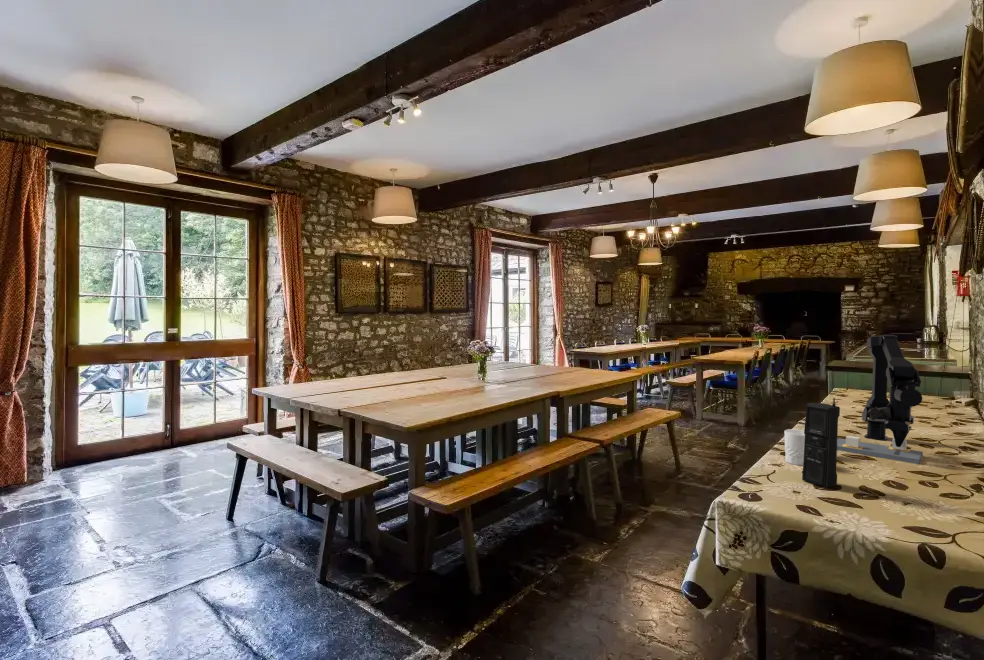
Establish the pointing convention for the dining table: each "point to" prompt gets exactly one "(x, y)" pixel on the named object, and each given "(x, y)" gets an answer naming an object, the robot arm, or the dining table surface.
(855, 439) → the slider
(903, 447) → the slider
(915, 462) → the switch panel
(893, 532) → the dining table surface
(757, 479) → the dining table surface
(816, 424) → the portable radio
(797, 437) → the white cup
